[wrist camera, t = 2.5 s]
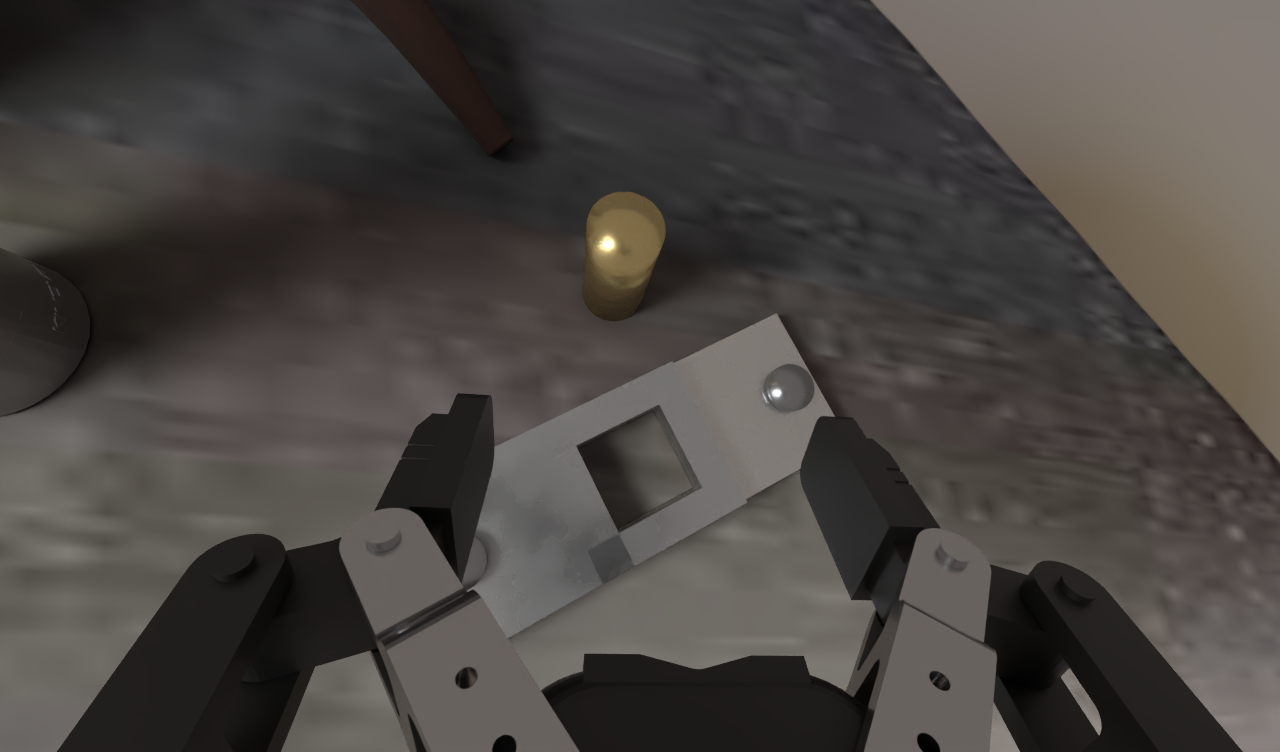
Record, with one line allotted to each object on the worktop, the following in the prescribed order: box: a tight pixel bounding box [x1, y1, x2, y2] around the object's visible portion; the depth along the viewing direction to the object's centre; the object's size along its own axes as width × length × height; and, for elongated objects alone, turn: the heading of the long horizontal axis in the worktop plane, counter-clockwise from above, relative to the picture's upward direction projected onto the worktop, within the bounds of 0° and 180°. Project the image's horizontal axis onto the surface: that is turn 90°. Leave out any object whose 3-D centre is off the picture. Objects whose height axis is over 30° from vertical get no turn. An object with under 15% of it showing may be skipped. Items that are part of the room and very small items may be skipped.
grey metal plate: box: [462, 313, 835, 638], centre depth 31 cm, size 26×10×3 cm, turn 117°
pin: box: [583, 192, 666, 321], centre depth 31 cm, size 4×4×9 cm
